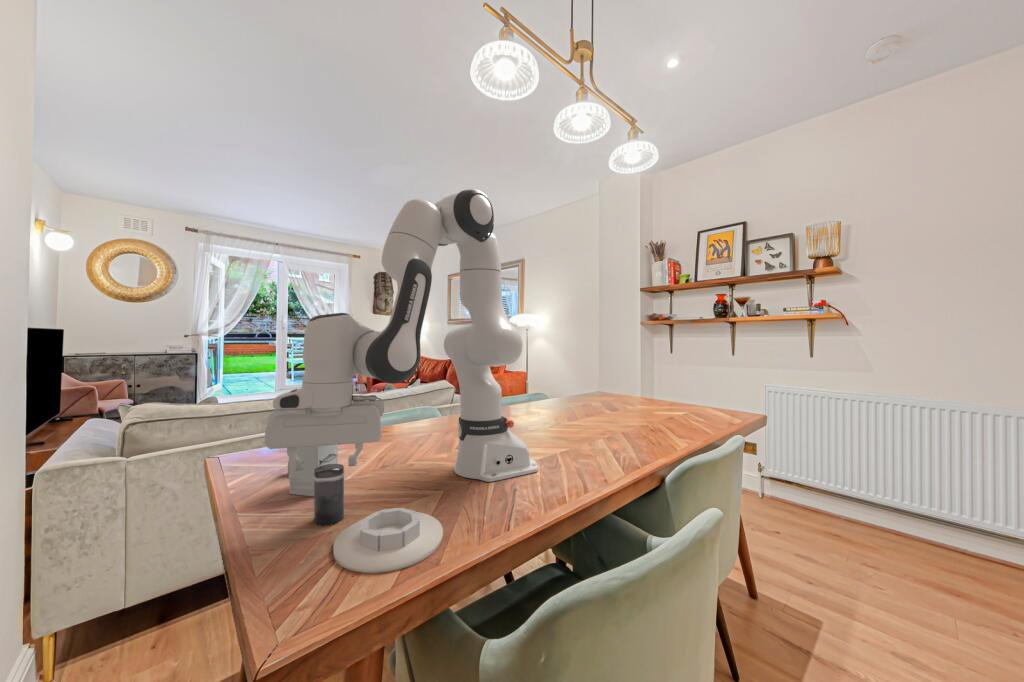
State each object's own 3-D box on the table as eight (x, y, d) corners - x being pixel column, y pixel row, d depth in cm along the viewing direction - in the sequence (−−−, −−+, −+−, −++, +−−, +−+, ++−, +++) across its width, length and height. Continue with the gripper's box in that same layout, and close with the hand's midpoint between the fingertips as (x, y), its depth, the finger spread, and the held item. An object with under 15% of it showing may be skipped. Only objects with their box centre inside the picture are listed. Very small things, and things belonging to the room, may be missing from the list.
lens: (345, 511, 77) (345, 462, 77) (343, 523, 72) (343, 471, 71) (315, 515, 75) (315, 465, 75) (311, 528, 70) (311, 474, 70)
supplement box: (317, 497, 83) (317, 440, 83) (288, 494, 85) (288, 438, 85) (338, 484, 90) (338, 432, 90) (312, 482, 92) (312, 430, 92)
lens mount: (435, 510, 77) (435, 493, 77) (451, 559, 60) (451, 537, 60) (338, 524, 71) (339, 506, 71) (326, 583, 54) (326, 559, 54)
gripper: (384, 392, 79) (382, 458, 79) (272, 395, 72) (270, 467, 72) (384, 396, 73) (383, 467, 73) (262, 400, 66) (260, 478, 66)
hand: (326, 467), depth 73 cm, fingers open, 8 cm apart
